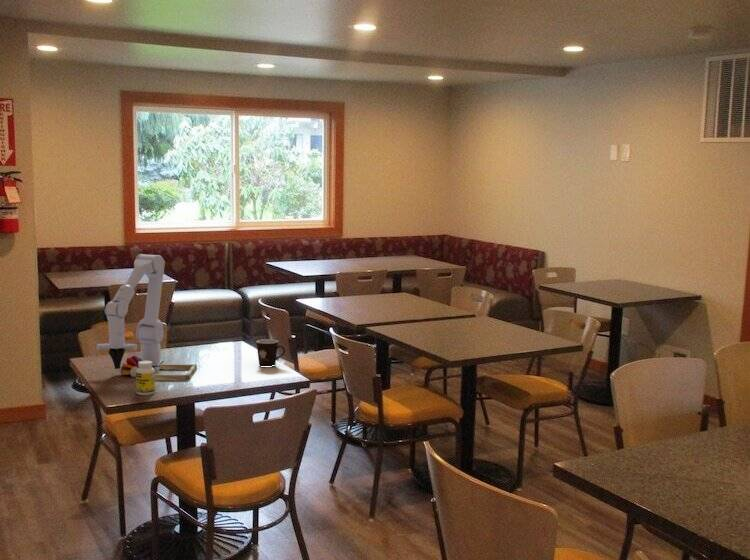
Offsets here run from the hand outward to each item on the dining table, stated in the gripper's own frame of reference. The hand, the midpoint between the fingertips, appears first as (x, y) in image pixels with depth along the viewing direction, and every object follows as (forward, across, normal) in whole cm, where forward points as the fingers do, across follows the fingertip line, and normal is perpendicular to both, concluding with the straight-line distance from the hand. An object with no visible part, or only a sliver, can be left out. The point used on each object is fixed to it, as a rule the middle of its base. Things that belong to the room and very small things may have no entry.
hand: (117, 368), depth 295 cm
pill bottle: (+3, +16, -26) cm, 31 cm away
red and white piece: (+3, +6, 0) cm, 7 cm away
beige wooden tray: (+2, +20, 0) cm, 21 cm away
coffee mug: (+3, +56, +14) cm, 58 cm away
